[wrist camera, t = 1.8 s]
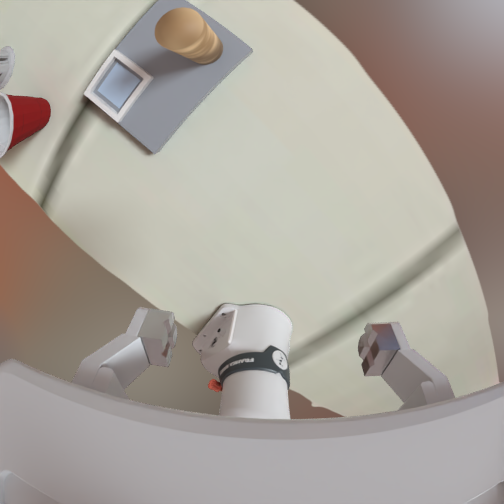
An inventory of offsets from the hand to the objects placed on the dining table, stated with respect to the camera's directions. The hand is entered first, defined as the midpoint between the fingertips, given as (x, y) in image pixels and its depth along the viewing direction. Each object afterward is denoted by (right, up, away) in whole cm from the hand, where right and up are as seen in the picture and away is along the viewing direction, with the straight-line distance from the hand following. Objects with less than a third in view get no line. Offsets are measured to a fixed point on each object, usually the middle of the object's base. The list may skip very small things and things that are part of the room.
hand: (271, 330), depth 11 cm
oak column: (-7, +29, +18) cm, 35 cm away
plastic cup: (-38, +28, +23) cm, 53 cm away
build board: (-13, +29, +21) cm, 38 cm away
